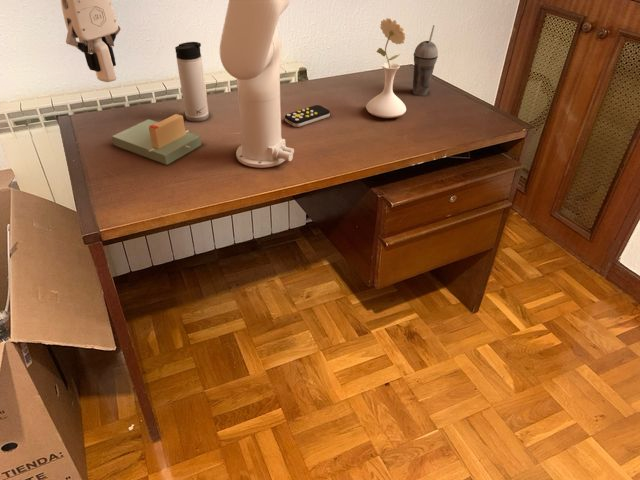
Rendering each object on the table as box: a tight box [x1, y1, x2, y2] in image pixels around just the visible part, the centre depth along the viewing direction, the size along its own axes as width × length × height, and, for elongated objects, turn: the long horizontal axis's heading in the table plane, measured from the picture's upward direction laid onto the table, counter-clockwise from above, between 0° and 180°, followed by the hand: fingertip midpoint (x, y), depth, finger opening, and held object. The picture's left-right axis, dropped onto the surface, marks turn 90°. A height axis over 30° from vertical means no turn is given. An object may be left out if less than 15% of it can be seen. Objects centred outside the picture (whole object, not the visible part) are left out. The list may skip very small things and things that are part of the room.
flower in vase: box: [365, 17, 407, 119], centre depth 133 cm, size 13×11×25 cm
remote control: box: [284, 104, 331, 128], centre depth 136 cm, size 6×13×2 cm, turn 130°
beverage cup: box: [412, 24, 439, 96], centre depth 147 cm, size 7×7×20 cm
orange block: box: [149, 113, 186, 149], centre depth 117 cm, size 9×2×5 cm, turn 149°
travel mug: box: [174, 41, 210, 123], centre depth 130 cm, size 6×7×20 cm
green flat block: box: [111, 118, 202, 166], centre depth 121 cm, size 20×13×3 cm, turn 59°
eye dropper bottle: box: [92, 37, 117, 83], centre depth 110 cm, size 4×6×12 cm
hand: (102, 66), depth 112 cm, fingers closed on eye dropper bottle, 3 cm apart
